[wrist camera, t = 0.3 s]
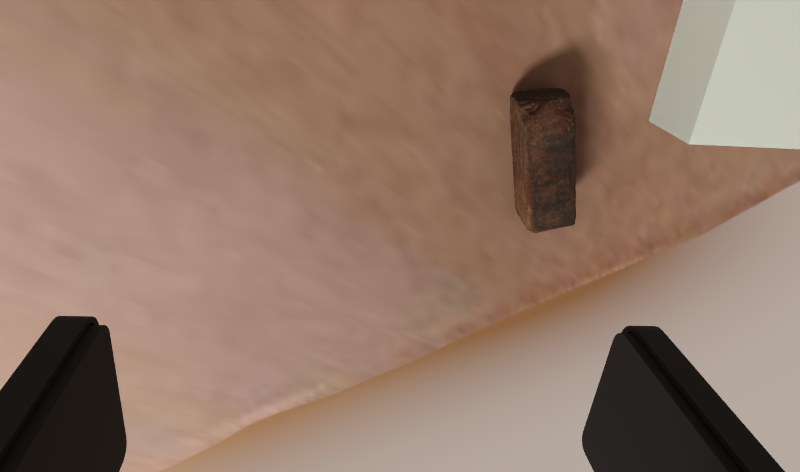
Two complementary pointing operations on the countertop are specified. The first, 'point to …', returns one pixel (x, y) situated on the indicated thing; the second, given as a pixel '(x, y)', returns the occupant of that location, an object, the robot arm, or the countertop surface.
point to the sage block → (733, 74)
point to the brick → (543, 158)
